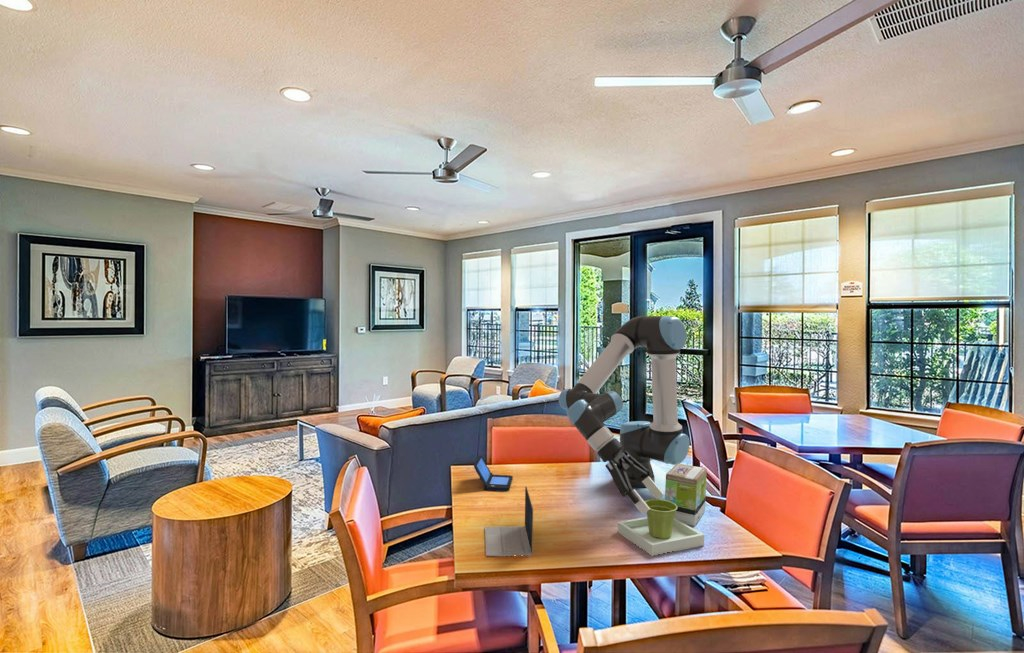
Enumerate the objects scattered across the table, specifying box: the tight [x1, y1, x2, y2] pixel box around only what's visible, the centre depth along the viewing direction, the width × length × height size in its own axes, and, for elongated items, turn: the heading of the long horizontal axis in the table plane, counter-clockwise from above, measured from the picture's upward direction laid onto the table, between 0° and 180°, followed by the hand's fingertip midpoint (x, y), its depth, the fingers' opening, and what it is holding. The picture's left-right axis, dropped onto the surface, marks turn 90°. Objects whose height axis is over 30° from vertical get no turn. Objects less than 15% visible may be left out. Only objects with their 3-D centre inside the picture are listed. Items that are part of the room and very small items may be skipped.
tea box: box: [664, 463, 708, 527], centre depth 161 cm, size 15×10×15 cm
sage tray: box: [617, 516, 705, 557], centre depth 144 cm, size 18×16×3 cm
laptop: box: [484, 486, 534, 557], centre depth 141 cm, size 18×12×13 cm
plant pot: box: [644, 498, 678, 539], centre depth 144 cm, size 9×9×9 cm
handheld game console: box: [473, 454, 514, 492], centre depth 189 cm, size 16×13×9 cm
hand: (653, 504), depth 144 cm, fingers open, 13 cm apart
